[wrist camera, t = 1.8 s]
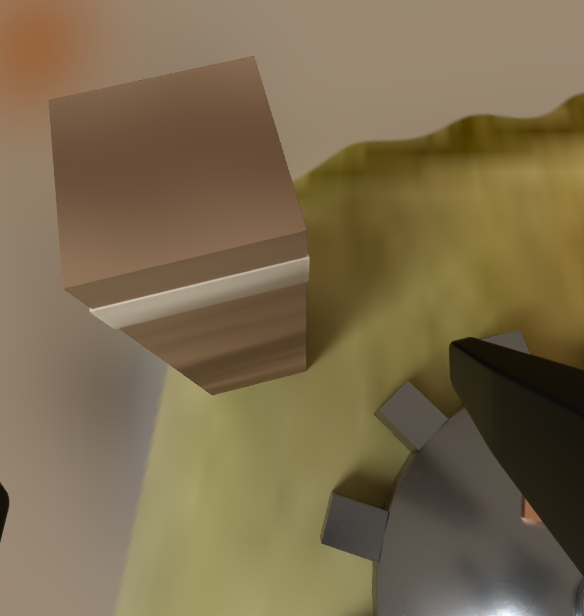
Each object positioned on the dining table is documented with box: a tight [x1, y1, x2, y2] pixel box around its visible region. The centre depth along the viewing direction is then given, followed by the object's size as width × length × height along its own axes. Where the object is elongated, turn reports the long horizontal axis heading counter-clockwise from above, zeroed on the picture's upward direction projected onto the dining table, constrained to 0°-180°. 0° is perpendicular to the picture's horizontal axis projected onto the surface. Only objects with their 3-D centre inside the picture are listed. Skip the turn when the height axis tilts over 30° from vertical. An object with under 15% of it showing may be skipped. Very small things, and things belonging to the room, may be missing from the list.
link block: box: [49, 56, 310, 395], centre depth 15 cm, size 5×5×13 cm
